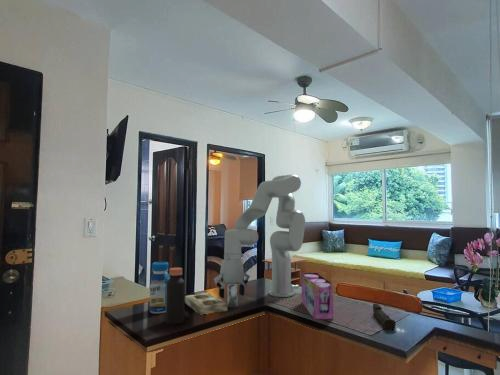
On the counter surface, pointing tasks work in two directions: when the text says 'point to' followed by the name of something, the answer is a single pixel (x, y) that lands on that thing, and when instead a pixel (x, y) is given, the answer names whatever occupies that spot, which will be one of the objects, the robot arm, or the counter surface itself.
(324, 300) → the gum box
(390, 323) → the hand tool
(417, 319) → the counter surface
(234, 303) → the steel sleeve
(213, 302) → the jig plate
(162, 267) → the beverage bottle
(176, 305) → the vinegar
